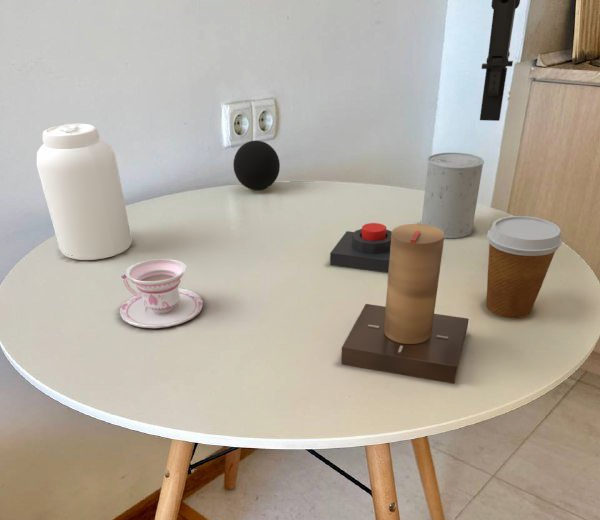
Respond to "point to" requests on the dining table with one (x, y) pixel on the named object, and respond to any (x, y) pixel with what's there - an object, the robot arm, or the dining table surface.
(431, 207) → the gray concrete cylinder
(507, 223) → the disposable coffee cup
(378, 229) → the red button
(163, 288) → the teacup
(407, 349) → the dark brown wooden base
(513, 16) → the robot arm
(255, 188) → the decorative ball
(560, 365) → the dining table surface
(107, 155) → the white lidded jar
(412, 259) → the wooden cylinder
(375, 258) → the button base
